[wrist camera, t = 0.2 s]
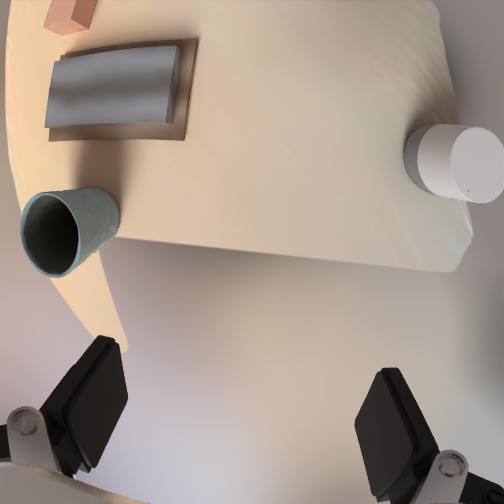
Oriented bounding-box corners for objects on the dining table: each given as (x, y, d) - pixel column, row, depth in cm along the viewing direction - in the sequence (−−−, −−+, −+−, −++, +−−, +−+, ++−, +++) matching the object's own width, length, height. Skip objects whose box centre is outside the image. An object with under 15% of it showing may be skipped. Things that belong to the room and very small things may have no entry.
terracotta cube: (70, 8, 29) (52, -2, 24) (96, 1, 29) (80, -11, 24) (62, 36, 31) (43, 27, 26) (88, 29, 31) (70, 18, 26)
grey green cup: (79, 253, 42) (34, 282, 31) (62, 190, 39) (10, 205, 28) (133, 240, 41) (91, 271, 30) (115, 172, 38) (66, 181, 27)
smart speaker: (415, 112, 34) (475, 100, 21) (459, 151, 35) (522, 158, 22) (385, 166, 37) (440, 175, 23) (431, 203, 38) (491, 227, 24)
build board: (64, 56, 32) (50, 51, 28) (197, 42, 32) (191, 31, 28) (52, 141, 37) (36, 142, 33) (184, 140, 37) (175, 139, 33)
